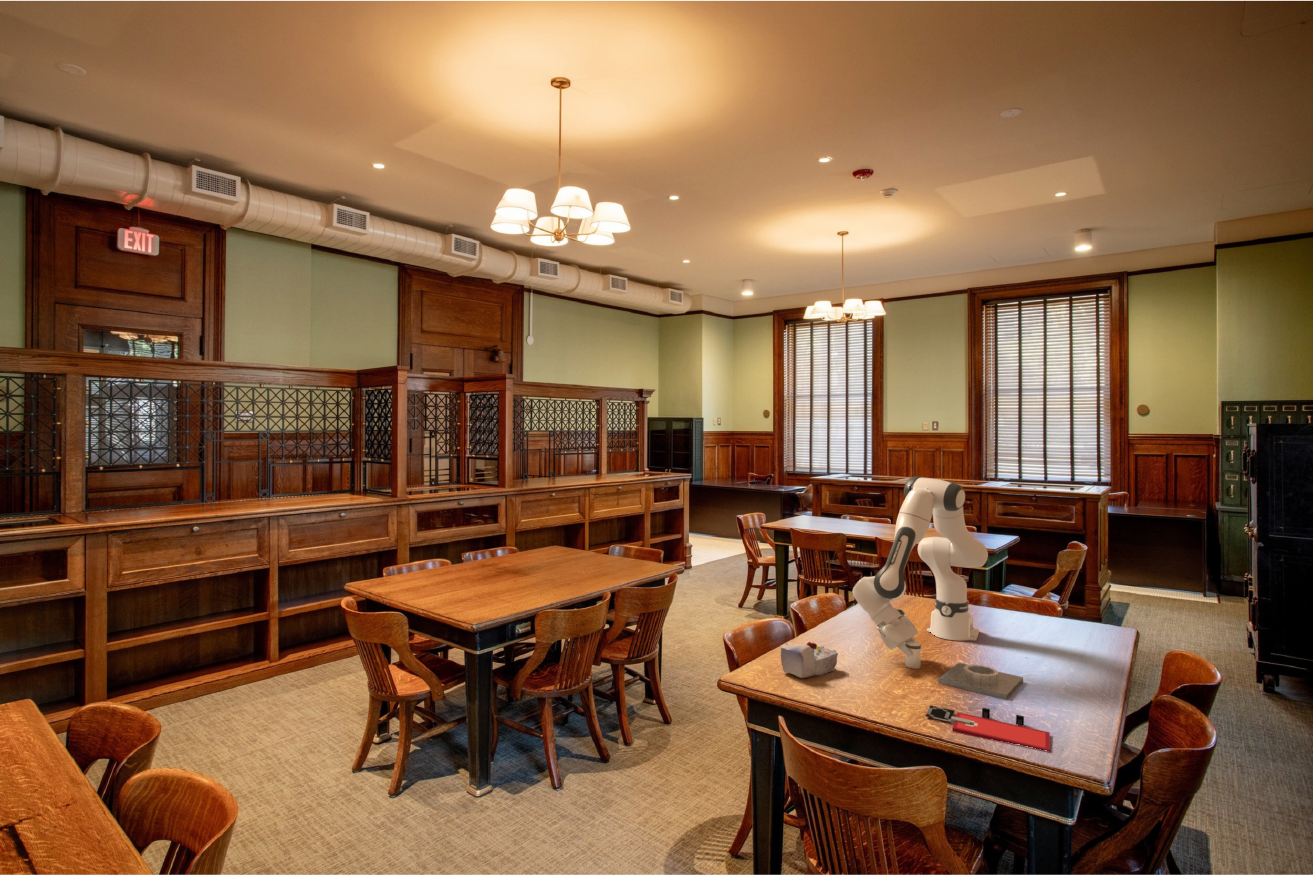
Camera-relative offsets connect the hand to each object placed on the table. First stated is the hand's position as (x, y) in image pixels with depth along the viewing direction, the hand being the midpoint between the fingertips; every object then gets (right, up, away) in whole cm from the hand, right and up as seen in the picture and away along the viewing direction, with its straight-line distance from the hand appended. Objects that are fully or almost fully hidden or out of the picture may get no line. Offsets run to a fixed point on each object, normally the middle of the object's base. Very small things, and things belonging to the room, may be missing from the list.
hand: (914, 653), depth 227 cm
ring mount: (+16, -5, -14) cm, 22 cm away
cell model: (-38, -5, -6) cm, 39 cm away
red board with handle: (+1, -5, -47) cm, 48 cm away
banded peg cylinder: (-1, -5, 0) cm, 5 cm away
